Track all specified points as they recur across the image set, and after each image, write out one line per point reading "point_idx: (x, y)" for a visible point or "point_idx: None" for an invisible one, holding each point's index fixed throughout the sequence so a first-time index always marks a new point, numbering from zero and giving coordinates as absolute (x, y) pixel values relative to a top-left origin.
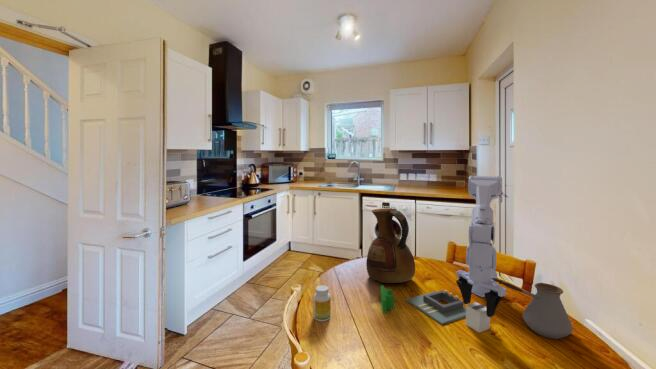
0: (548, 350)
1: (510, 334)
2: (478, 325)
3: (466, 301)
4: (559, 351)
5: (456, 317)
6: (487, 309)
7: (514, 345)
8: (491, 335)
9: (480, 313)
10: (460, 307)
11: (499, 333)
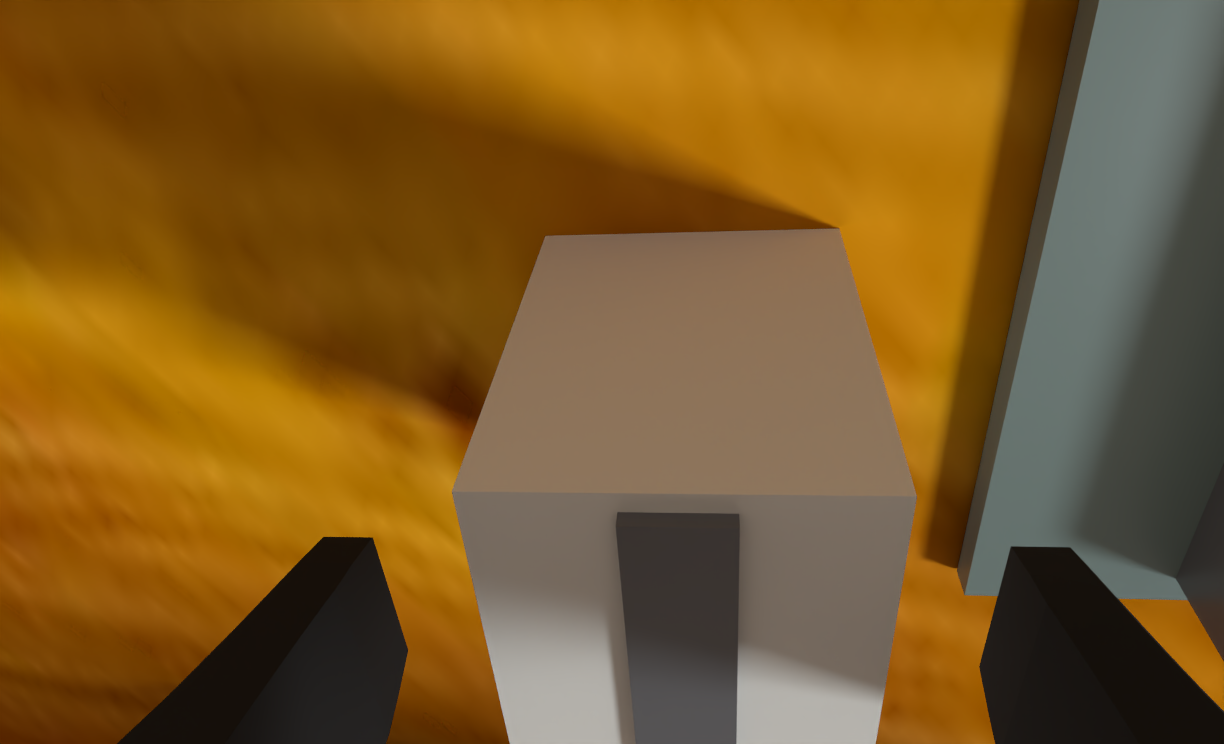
0: (61, 620)
1: (384, 560)
2: (546, 300)
3: (1030, 637)
4: (46, 675)
5: (1069, 221)
6: (242, 674)
7: (166, 416)
8: (426, 346)
9: (464, 493)
10: (1206, 535)
11: (437, 475)
